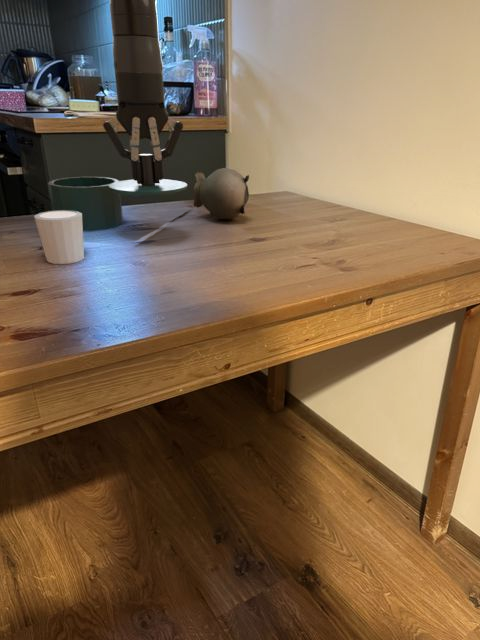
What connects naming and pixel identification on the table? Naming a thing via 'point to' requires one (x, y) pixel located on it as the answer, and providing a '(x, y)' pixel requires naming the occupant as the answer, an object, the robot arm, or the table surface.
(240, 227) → the table surface
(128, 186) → the lid
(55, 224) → the shot glass
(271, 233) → the table surface
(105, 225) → the pot
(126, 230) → the table surface
